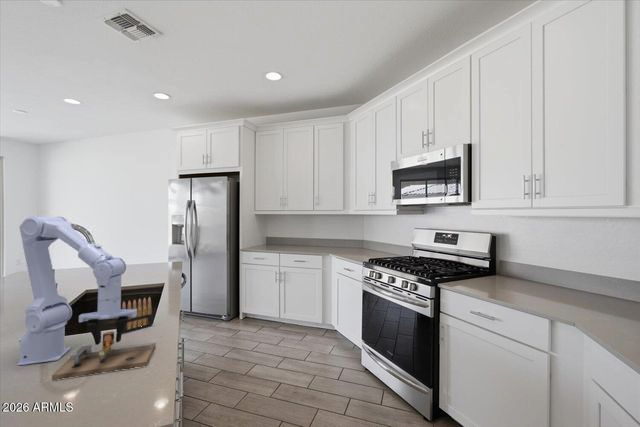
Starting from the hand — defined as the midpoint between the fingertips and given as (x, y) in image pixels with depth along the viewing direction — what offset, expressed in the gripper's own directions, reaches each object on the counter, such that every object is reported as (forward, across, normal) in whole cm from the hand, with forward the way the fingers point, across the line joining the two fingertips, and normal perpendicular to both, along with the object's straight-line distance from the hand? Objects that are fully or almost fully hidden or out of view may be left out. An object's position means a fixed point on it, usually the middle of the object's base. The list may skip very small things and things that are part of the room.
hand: (108, 342), depth 86 cm
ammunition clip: (+6, +2, +24) cm, 25 cm away
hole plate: (+5, +1, -2) cm, 6 cm away
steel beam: (+4, +1, +1) cm, 4 cm away
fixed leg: (+4, -6, -2) cm, 7 cm away
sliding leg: (+4, 0, -2) cm, 4 cm away
